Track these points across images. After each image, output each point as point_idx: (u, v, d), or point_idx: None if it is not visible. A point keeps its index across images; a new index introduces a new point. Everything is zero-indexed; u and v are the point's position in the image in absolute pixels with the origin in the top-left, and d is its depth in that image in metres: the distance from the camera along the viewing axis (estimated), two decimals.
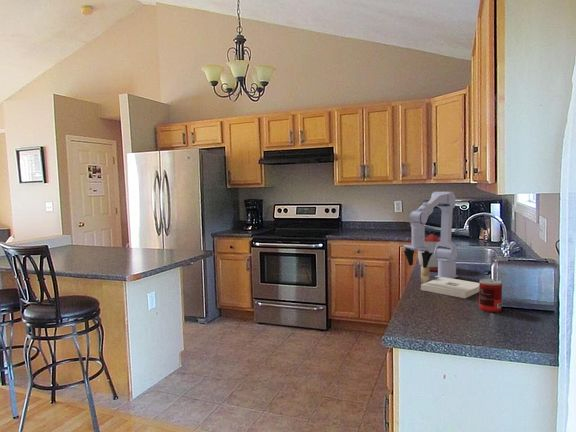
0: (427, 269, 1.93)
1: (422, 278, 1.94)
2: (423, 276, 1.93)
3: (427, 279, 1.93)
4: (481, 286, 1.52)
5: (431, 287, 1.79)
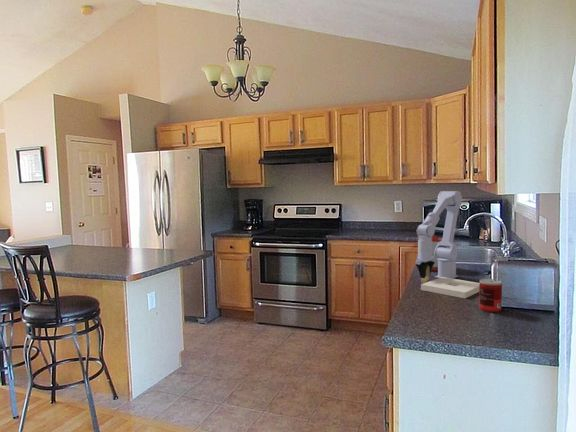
0: (427, 269, 1.93)
1: (422, 278, 1.94)
2: None
3: (427, 279, 1.93)
4: (481, 286, 1.52)
5: (431, 287, 1.79)
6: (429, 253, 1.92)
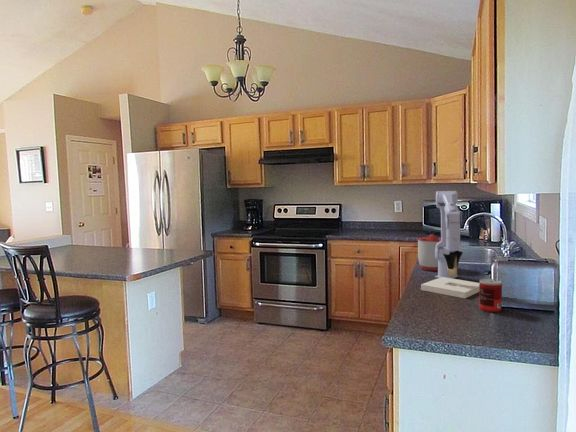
0: None
1: (449, 269, 1.81)
2: None
3: (455, 270, 1.80)
4: (481, 286, 1.52)
5: (431, 287, 1.79)
6: (458, 242, 1.78)
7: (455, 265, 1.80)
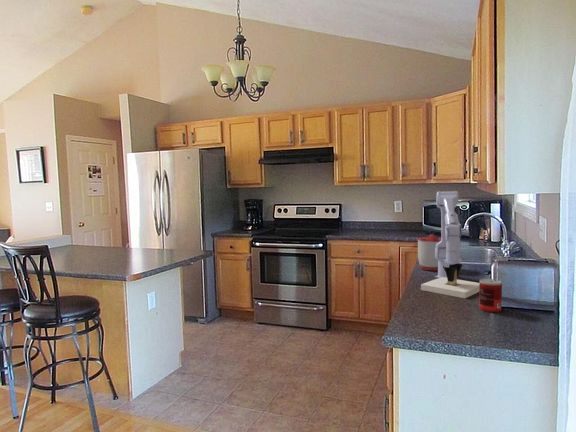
0: None
1: (449, 282, 1.81)
2: None
3: (454, 283, 1.80)
4: (481, 286, 1.52)
5: (431, 287, 1.79)
6: (458, 255, 1.78)
7: (455, 278, 1.80)
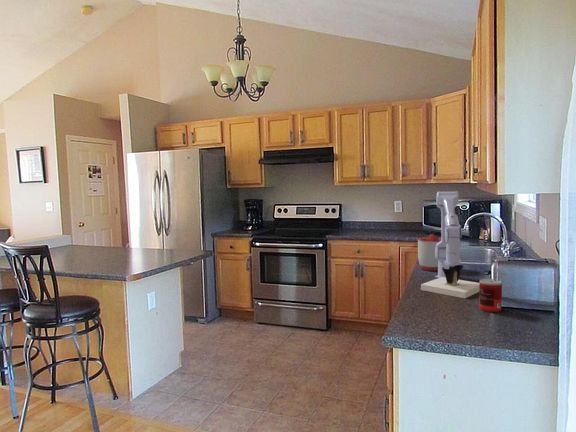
0: (455, 275, 1.80)
1: (449, 284, 1.81)
2: None
3: (454, 285, 1.80)
4: (481, 286, 1.52)
5: (431, 287, 1.79)
6: (458, 257, 1.79)
7: (455, 280, 1.80)
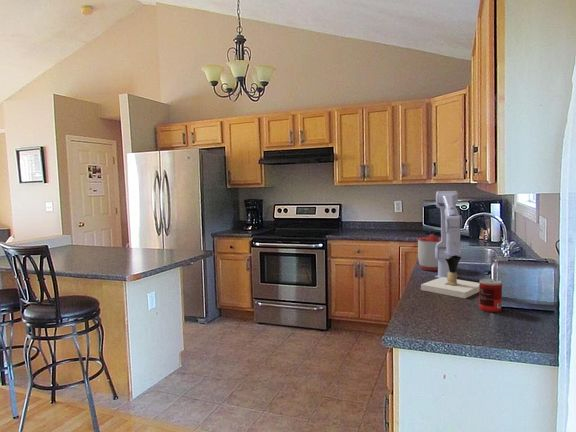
0: (454, 275, 1.80)
1: (449, 284, 1.81)
2: (450, 283, 1.81)
3: (454, 285, 1.80)
4: (481, 286, 1.52)
5: (431, 287, 1.79)
6: (458, 247, 1.78)
7: (455, 280, 1.80)
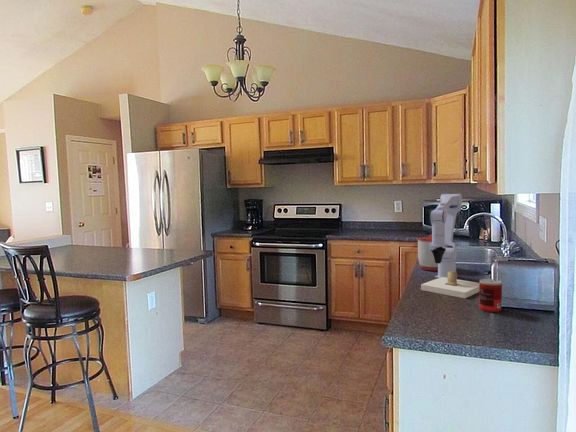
0: (454, 275, 1.80)
1: (449, 284, 1.81)
2: (451, 283, 1.81)
3: (454, 285, 1.80)
4: (481, 286, 1.52)
5: (431, 287, 1.79)
6: (442, 239, 1.89)
7: (455, 280, 1.80)
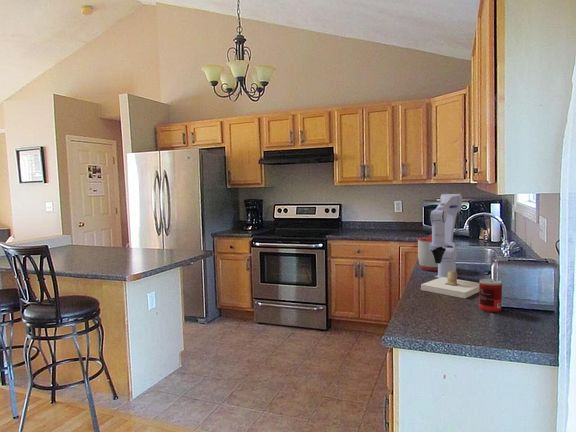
0: (455, 275, 1.80)
1: (449, 284, 1.81)
2: (451, 283, 1.81)
3: (454, 285, 1.80)
4: (481, 286, 1.52)
5: (431, 287, 1.79)
6: (442, 239, 1.89)
7: (455, 280, 1.80)
